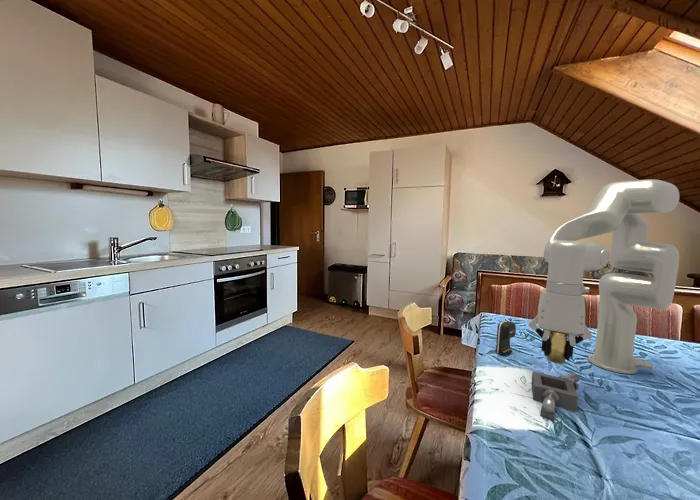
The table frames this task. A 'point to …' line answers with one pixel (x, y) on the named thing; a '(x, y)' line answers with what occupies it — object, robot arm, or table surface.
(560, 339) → the yellow cylinder
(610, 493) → the table surface
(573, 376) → the shaft
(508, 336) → the battery charger
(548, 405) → the shaft
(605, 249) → the robot arm
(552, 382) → the grey square frame
